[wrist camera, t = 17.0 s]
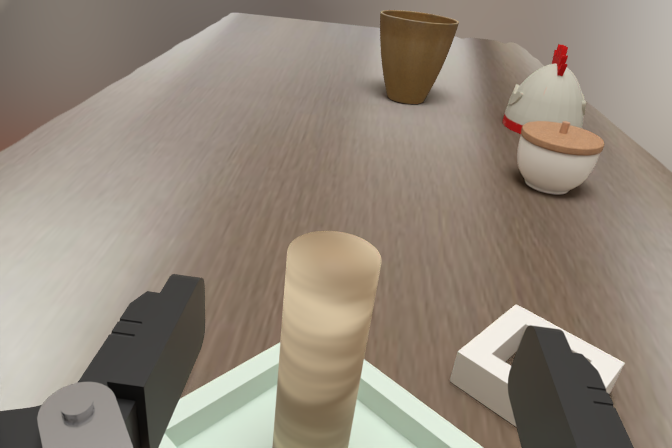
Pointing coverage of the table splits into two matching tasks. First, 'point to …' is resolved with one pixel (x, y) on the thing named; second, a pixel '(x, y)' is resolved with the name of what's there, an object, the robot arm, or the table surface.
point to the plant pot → (413, 52)
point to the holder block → (499, 345)
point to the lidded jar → (556, 155)
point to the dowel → (323, 338)
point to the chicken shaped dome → (547, 96)
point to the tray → (260, 401)
